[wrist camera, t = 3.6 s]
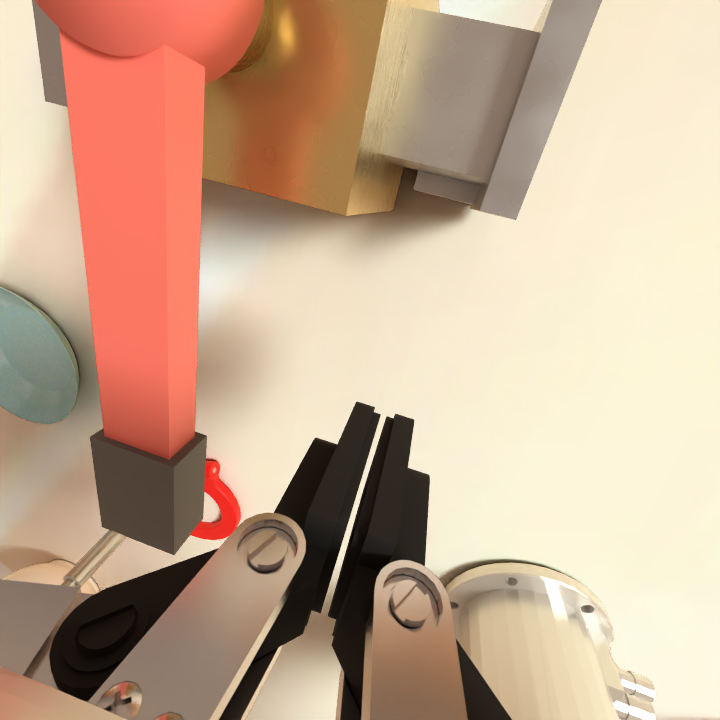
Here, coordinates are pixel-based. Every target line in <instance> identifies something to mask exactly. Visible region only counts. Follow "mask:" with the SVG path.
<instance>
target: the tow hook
mask: <svg viewBox="0 0 720 720" xmlns="http://www.w3.org/2000/svg"><path fill="white" fill-rule="evenodd" d="M219 471H220V465H219V463H218V462H215V461H206V464H205V486H204V492H206V493H207V494H209V495H210V496H211V497H212V498H213V499H214V500H215V502H216V503H217V504H218V506H219V508H220V510H221V516H222V518H221V520H220V521H218V522H214V523H206V522H201V521H200V523H199V524H198V525H197V527H196V528H195V529H194V530H193V532H192V533H191V534H190V535H192V536H195V537H198V538H202V539H209V540H217V539H223V538H226V537H228V536H230V535H231V534H232V533H233V531H234V530H235V529H236V528H237V526H238V524H239V521H240V518H241V514H240V507H239V505H238V502H237V500H236V498H235V497H234V495H233V494H232V492H231V491H230V490H229V489H228V488H227V487H226V486H225V485H224V484H223V483H222V482H221V481H220V479H219V476H218V474H219ZM126 537H127V536H124V535H121V534H119V533H116V532H114V531H111V530H109V531H108V532H107V533H106V534H105V535H104V536H103V537H102V538H101V539H100V540H99V541H98V542H97V543H96V544H95V545H94V546H93V547H92V548H91V549H90V550H89V551H88V552H87V553H86V554H85V555H84V556H83V557H82V558H81V559H80V560H79V561H78V562H77V564H76V565H75V566H74V567H73V568H72V569H71V570H70V571H69V572H68V573H67V574H66V575H65V576H64V577H63V580H64V582H63V583H62V584H61V586H71V587H80V588H81V587H82V585H83V584H84V583H85V582H86V581H87V580H88V579H89V578H90V577H91V576H92V574H93V573H94V572H95V571H96V570H97V569H98V568H99V567H100V566H101V565H102V564H103V562H104V561H105V560H106V559H107V558H108V557H109V556H110V555H111V554H112V553H113V552H114V550H115V549H116V548H117V547H118V546H119V545H120V544H121V543H122V542H123V541H124V539H125V538H126Z"/></svg>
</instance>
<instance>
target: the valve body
mask: <svg viewBox="0 0 720 720" xmlns="http://www.w3.org/2000/svg"><path fill="white" fill-rule="evenodd" d="M601 2H602V0H548V1H547V3H546V5H545V8H544V10H543V12H542V14H541V16H540V18H539V20H538V22H537V24H536V26H535V28H534V30H533V31H530V30H525V29H520V28H515V27H510V26H504V25H499V24H494V23H489V22H484V21H479V20H474V19H469V18H463V17H458V16H453V15H448V14H443V13H440V11H439V0H265V2H264V6H263V10H262V15H261V19H260V21H259V24H258V27H257V30H256V33H255V35H254V37H253V39H252V41H251V44H250V45H249V47H248V49H247V50H246V52H245V53H244V55H243V56H242V58H241V59H240V60H239V61H238V62H237V64H236V65H235V66H234V67H233V68H232V69H230V70H229V71H228V72H227V73H226V74H224V75H223V76H221V77H220V78H218V79H216V80H214V81H211V82H209V83H206V84H205V88H204V124H203V160H202V178H205V179H208V180H212V181H216V182H220V183H223V184H227V185H231V186H235V187H239V188H242V189H246V190H250V191H254V192H257V193H261V194H265V195H269V196H273V197H276V198H280V199H284V200H288V201H291V202H295V203H299V204H303V205H307V206H310V207H314V208H318V209H322V210H325V211H329V212H333V213H337V214H341V215H344V216H349V215H358V214H367V213H376V212H384V211H393V209H394V205H395V201H396V197H397V193H398V189H399V185H400V180H401V176H402V172H403V168H404V167H407V168H411V169H415V170H418V174H417V178H416V181H415V185H414V190H416V191H419V192H423V193H427V194H431V195H435V196H439V197H443V198H447V199H451V200H455V201H459V202H463V203H467V204H471V207H470V209H473V210H477V211H481V212H485V213H489V214H493V215H497V216H501V217H506V218H510V219H514V220H516V218H517V216H518V213H519V211H520V208H521V206H522V203H523V200H524V198H525V195H526V193H527V190H528V188H529V185H530V183H531V180H532V177H533V175H534V172H535V170H536V167H537V165H538V162H539V160H540V157H541V155H542V152H543V149H544V147H545V144H546V142H547V139H548V137H549V134H550V132H551V129H552V126H553V124H554V121H555V119H556V116H557V114H558V111H559V109H560V106H561V104H562V101H563V98H564V96H565V93H566V91H567V88H568V86H569V83H570V81H571V78H572V75H573V73H574V70H575V68H576V65H577V63H578V60H579V58H580V55H581V53H582V50H583V47H584V45H585V42H586V40H587V37H588V35H589V32H590V30H591V27H592V24H593V22H594V19H595V17H596V14H597V12H598V9H599V7H600V4H601ZM32 4H33V11H34V19H35V26H36V34H37V41H38V49H39V56H40V64H41V71H42V79H43V86H44V94H45V101H47V102H51V103H55V104H59V105H63V106H66V107H68V105H67V96H66V87H65V78H64V69H63V60H62V51H61V42H60V33H59V26H57V25H56V24H55V23H54V22H53V21H52V20H51V19H50V18H49V17H48V16H47V15H46V13H45V12H44V11H43V10H42V9H41V8H40V7H39V5H38V4H37V3H36V1H35V0H32Z"/></svg>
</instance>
